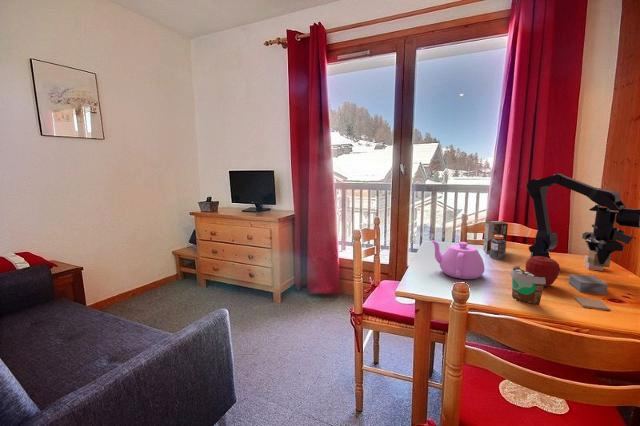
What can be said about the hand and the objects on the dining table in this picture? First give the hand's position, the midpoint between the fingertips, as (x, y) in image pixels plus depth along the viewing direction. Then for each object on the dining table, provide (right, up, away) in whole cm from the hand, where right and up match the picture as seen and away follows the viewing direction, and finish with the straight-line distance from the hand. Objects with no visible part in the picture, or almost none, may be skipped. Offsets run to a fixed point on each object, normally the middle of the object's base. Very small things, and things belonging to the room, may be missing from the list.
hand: (598, 262), depth 120 cm
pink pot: (-53, -7, +9) cm, 54 cm away
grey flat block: (-11, -9, -7) cm, 16 cm away
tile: (-20, -11, -19) cm, 30 cm away
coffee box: (-19, -1, +39) cm, 43 cm away
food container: (-41, -11, -15) cm, 45 cm away
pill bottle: (-23, -3, +30) cm, 38 cm away
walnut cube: (0, -1, 0) cm, 1 cm away
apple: (-26, -8, -3) cm, 27 cm away
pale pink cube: (+11, -5, +14) cm, 18 cm away
